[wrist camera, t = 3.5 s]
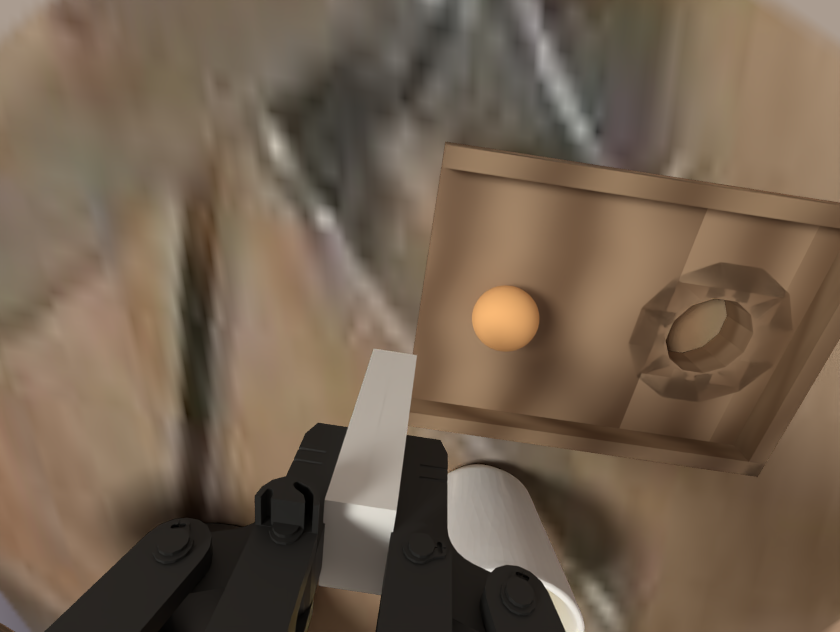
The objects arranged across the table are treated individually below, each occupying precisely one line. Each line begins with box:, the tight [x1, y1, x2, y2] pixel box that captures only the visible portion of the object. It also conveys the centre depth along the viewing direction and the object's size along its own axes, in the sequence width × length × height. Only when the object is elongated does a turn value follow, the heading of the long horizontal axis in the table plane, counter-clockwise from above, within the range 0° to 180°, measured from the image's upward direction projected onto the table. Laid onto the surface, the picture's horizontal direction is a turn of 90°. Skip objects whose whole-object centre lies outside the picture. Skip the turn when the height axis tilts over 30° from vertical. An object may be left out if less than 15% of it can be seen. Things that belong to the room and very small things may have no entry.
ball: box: [472, 285, 539, 352], centre depth 23 cm, size 4×4×4 cm
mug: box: [447, 464, 585, 632], centre depth 30 cm, size 14×10×10 cm
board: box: [408, 142, 840, 477], centre depth 25 cm, size 22×16×4 cm
